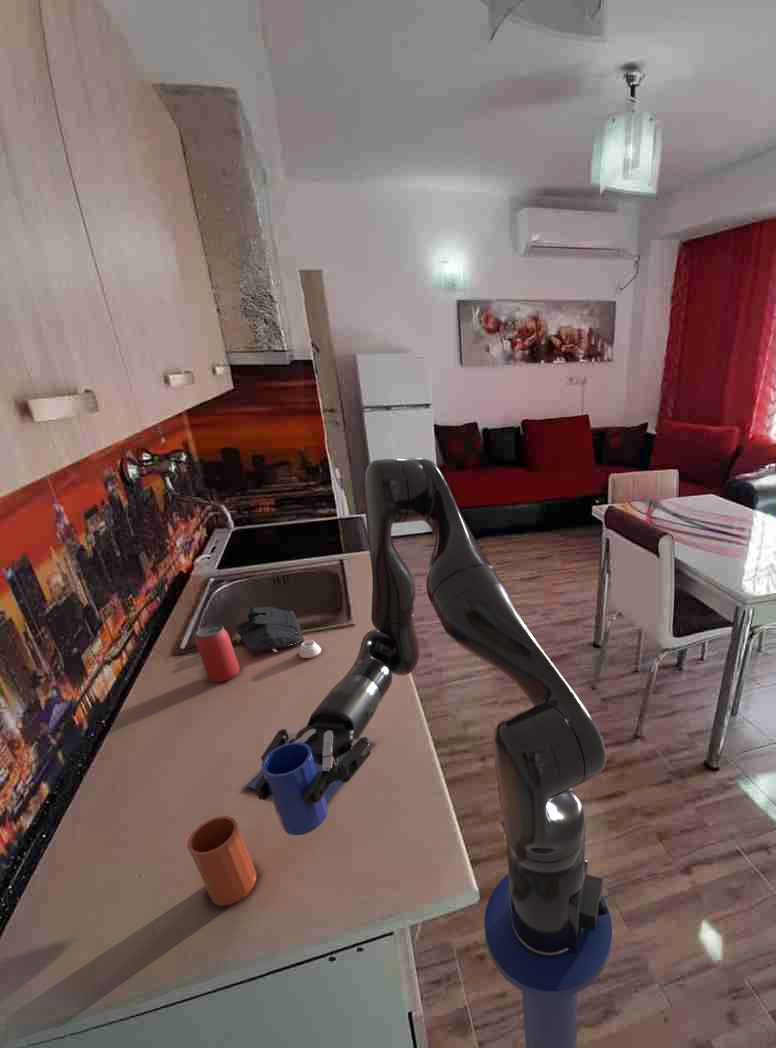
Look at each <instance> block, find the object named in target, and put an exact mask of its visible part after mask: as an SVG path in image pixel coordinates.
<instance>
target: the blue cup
mask: <svg viewBox="0 0 776 1048" xmlns="http://www.w3.org/2000/svg"><path fill="white" fill-rule="evenodd" d="M261 762H262V761H261ZM262 772H263V775H264V778H265V781H266V783H267V786H268V789H269V792H270V795H269V796H270V798H271V800H272V803H273V806H274V808H275V812H276V815H277V818H278V821H279V824H280V826H281V828H282V830H283V831H284V832H285V833H286V834H288V835H290V836H302V835H307V834H309V833H311V832H313V831H314V830H317V828H318V827H320V826H321V824H323V822H324V821H325V820H326V818H327V816H328V812H329V809H328V804H327V802H326V799H325V796H324V795H323V796H322V798H321V799H320V800H319V801H318V802H315V803H314V805H313V806H306V804H305V801H304V798H303V793H304V791H305V790H306V788H307V787H308V785H309V784H310V783H311V781H312V780H313V778H314V777H315V775H316V774H317V772H318V771H317V768H316V764H315V761H314V757H313V754H312V750H311V748H310V747H309V746H308V745H307V744H305V743H301V742H293V743H288V744H284V745H281V746H279V747H278V748H276V749H274V750H272V751H271V752H270V753H269V754H268V755H267V756H266V757H265V758H264V760H263V762H262V763H261V773H262Z"/></svg>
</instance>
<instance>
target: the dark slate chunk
mask: <svg viewBox="0 0 776 1048" xmlns="http://www.w3.org/2000/svg"><path fill="white" fill-rule="evenodd" d="M248 611H249V612H248V613H247V618H248V620H246V621H243V622H241V623H238V624H235V629H236V631H237V633H238V635H239V637H240V639H241V641H242V642H243V643H244V645H245V647H246V650H248V652H250V653H251V654H258V653H262V652H267V651H271V650H270V649H272V650H275V649H281V648H280V647H283V648H288V647H294V646H296V645H300V644H302V643H303V642H305V640H304V638H305V637H304V636H303V632H302V629H301V626H300V624H299V619H298V618H297V615H296V613H295V612H294V611H293V610H287V609H286V610H282V609H278V608H277V607H272V606H260V607H257V606H253V607H250V608H249V610H248ZM295 630H298V634H299V636H300V638H301V639H302V640H301V639H299V637H298V636H297V635H294V634H293V633H294V632H295ZM300 640H301V641H300ZM298 641H300V642H298ZM297 642H298V643H297ZM295 643H296V644H295ZM290 644H293V645H290ZM288 645H289V646H288ZM285 646H287V647H285ZM283 648H282V649H283ZM266 650H267V651H266ZM261 651H262V652H261ZM257 652H258V653H257Z"/></svg>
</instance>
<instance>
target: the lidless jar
mask: <svg viewBox="0 0 776 1048" xmlns="http://www.w3.org/2000/svg"><path fill="white" fill-rule="evenodd" d="M320 653H322V648H321V647H320V645H318V643H317V642H315V640H313V639H309V640H304V641H303V642H302V643H301V646H300V648H299V653H298V655H299V657H300V658H302V659H309V658H313V657H316V656H319V654H320Z"/></svg>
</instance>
